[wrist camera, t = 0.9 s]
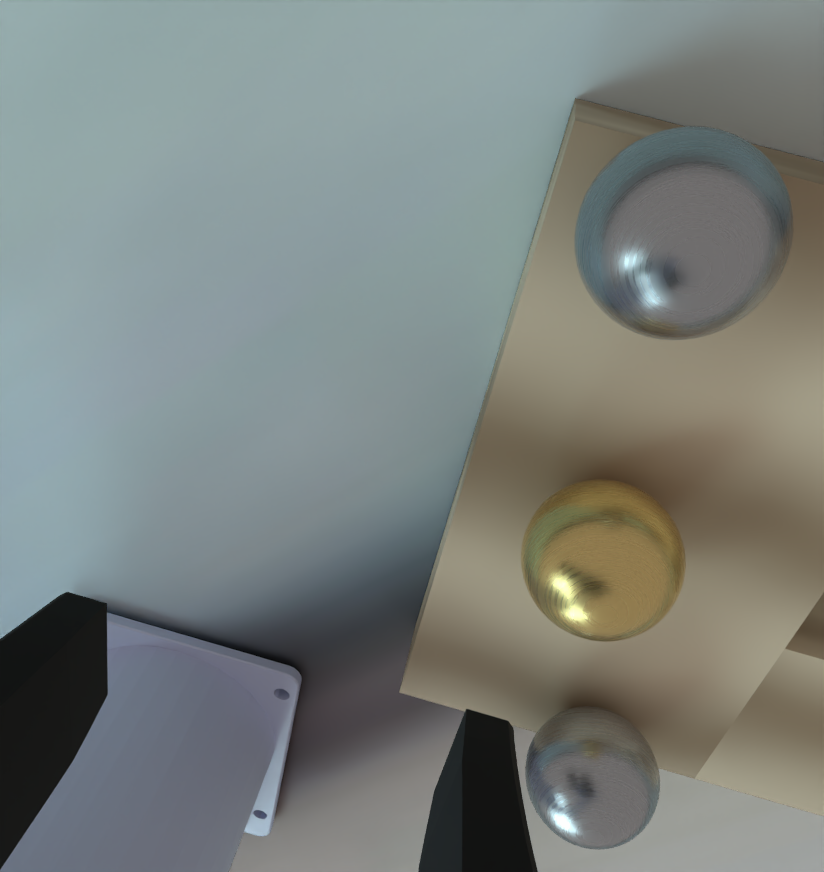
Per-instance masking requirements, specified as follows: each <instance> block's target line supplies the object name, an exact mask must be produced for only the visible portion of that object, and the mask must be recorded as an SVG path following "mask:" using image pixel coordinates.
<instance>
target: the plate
mask: <svg viewBox="0 0 824 872" xmlns="http://www.w3.org/2000/svg"><path fill="white" fill-rule="evenodd" d="M678 127H685V126H681V125H677V124H673V123H669V122H666V121H662V120H658V119H654V118H650V117H646V116H642V115H638V114H635V113H631V112H627V111H623V110H619V109H615V108H611V107H607V106H604V105H600V104H596V103H592V102H588V101H584V100H580V99H576V98H575V100H574V104H573V107H572V110H571V114H570V117H569V120H568V124H567V127H566V130H565V133H564V137H563V140H562V143H561V147H560V150H559V153H558V157H557V160H556V163H555V167H554V170H553V173H552V176H551V180H550V183H549V186H548V190H547V193H546V196H545V200H544V203H543V206H542V209H541V213H540V216H539V219H538V223H537V226H536V229H535V233H534V236H533V239H532V242H531V246H530V249H529V252H528V256H527V259H526V262H525V266H524V269H523V272H522V275H521V279H520V282H519V285H518V289H517V292H516V295H515V299H514V302H513V305H512V309H511V312H510V315H509V318H508V322H507V325H506V328H505V332H504V335H503V338H502V342H501V345H500V348H499V351H498V355H497V358H496V361H495V365H494V368H493V371H492V375H491V378H490V381H489V384H488V388H487V391H486V394H485V398H484V401H483V404H482V408H481V411H480V414H479V417H478V421H477V424H476V427H475V431H474V434H473V437H472V441H471V444H470V447H469V451H468V454H467V457H466V460H465V464H464V467H463V470H462V474H461V477H460V480H459V484H458V487H457V490H456V493H455V497H454V500H453V503H452V507H451V510H450V513H449V517H448V520H447V523H446V526H445V530H444V533H443V536H442V540H441V543H440V546H439V550H438V553H437V556H436V559H435V563H434V566H433V569H432V573H431V576H430V579H429V583H428V586H427V589H426V593H425V596H424V599H423V602H422V606H421V609H420V612H419V616H418V619H417V622H416V626H415V629H414V634H413V638H412V642H411V646H410V650H409V654H408V658H407V663H406V667H405V671H404V675H403V679H402V683H401V687H400V693H403V694H406V695H410V696H413V697H417V698H420V699H424V700H427V701H430V702H434V703H437V704H441V705H444V706H448V707H451V708H454V709H458V710H461V711H466V709H470V710H473V711H477V712H480V713H483V714H487V715H490V716H494V717H497V718H501V719H504V720H507V721H509V723H510V724H511V725H513V726H516V727H519V728H523V729H526V730H530V731H533V732H538V730H539V729H540V728H541V727H542V726H543V724H544V723H546V722H547V721H548V720H549V719H550V718H551V717H553V716H554V715H556V714H558V713H560V712H562V711H564V710H567V709H570V708H574V707H582V706H591V707H599V708H603V709H607V710H610V711H612V712H614V713H617V714H618V715H620V716H622V717H623V718H625V719H626V720H628V721H629V722H630V723H632V724H633V725H634V726H635V727H636V728H637V729H638V730H639V731H640V732H641V734H642V735H643V736H644V738H645V739H646V740H647V742H648V744H649V745H650V747H651V749H652V751H653V753H654V756H655V759H656V762H657V765H658V768H660V769H663V770H667V771H670V772H674V773H677V774H680V775H684V776H687V777H691V778H694V779H698V780H701V781H704V782H708V783H711V784H715V785H718V786H721V787H725V788H728V789H732V790H735V791H739V792H742V793H745V794H749V795H752V796H756V797H759V798H763V799H766V800H769V801H773V802H776V803H780V804H783V805H787V806H790V807H793V808H797V809H800V810H804V811H807V812H811V813H814V814H817V815H821V816H824V594H823V593H824V162H821V161H817V160H813V159H809V158H805V157H801V156H797V155H793V154H790V153H786V152H782V151H778V150H774V149H770V148H766V147H762V146H759V145H755V144H752V145H753V146H755V147H756V148H757V149H759V150H760V151H761V152H762V153H763V154H764V155H765V156H766V157H767V158H768V159H769V160H770V161H771V162H772V164H773V165H774V166H775V168H776V169H777V170H778V172H779V174H780V175H781V177H782V179H783V181H784V183H785V185H786V187H787V190H788V193H789V196H790V199H791V205H792V211H793V239H792V246H791V250H790V253H789V257H788V260H787V262H786V265H785V267H784V269H783V272H782V274H781V276H780V278H779V279H778V281H777V283H776V285H775V286H774V288H773V289H772V290H771V292H770V293H769V294H768V296H767V297H766V298H765V299H764V300H763V301H762V302H761V303H760V304H759V306H758V307H757V308H755V309H754V310H753V311H752V312H751V313H749V314H748V315H747V316H746V317H744V318H743V319H741V320H740V321H738V322H737V323H735V324H733V325H731V326H729V327H728V328H726V329H724V330H721V331H719V332H716V333H713V334H711V335H707V336H703V337H700V338H695V339H688V340H661V339H655V338H650V337H646V336H643V335H640V334H637V333H635V332H633V331H631V330H629V329H627V328H625V327H623V326H621V325H619V324H618V323H616V322H615V321H613V320H612V319H611V318H610V317H608V316H607V315H606V314H605V313H604V312H603V311H602V310H601V309H600V308H599V307H598V306H597V304H596V303H595V302H594V301H593V299H592V298H591V296H590V295H589V293H588V292H587V290H586V288H585V286H584V284H583V282H582V279H581V277H580V274H579V270H578V267H577V263H576V256H575V248H574V236H575V228H576V221H577V218H578V214H579V210H580V206H581V204H582V201H583V199H584V196H585V194H586V192H587V191H588V189H589V187H590V185H591V183H592V182H593V180H594V179H595V178H596V176H597V175H598V174H599V172H600V171H601V170H602V169H603V168H604V167H605V165H606V164H607V163H608V162H609V161H610V160H611V159H612V158H614V157H615V156H616V155H617V154H618V153H620V152H621V151H622V150H623V149H625V148H627V147H628V146H630V145H631V144H633V143H634V142H636V141H638V140H640V139H642V138H644V137H646V136H648V135H651V134H654V133H657V132H660V131H663V130H668V129H672V128H678ZM750 144H751V143H750ZM596 479H605V480H614V481H619V482H623V483H626V484H629V485H632V486H634V487H636V488H639V489H641V490H642V491H644V492H645V493H647V494H649V495H650V496H652V497H653V498H654V499H655V500H656V501H658V502H659V503H660V504H661V505H662V507H663V508H664V509H665V510H666V511H667V512H668V513H669V515H670V516H671V518H672V519H673V521H674V522H675V524H676V526H677V528H678V530H679V532H680V535H681V538H682V542H683V545H684V549H685V559H686V569H685V577H684V582H683V586H682V589H681V592H680V594H679V596H678V599H677V601H676V602H675V604H674V605H673V607H672V608H671V610H670V611H669V613H668V614H667V615H666V616H665V617H664V618H663V619H662V620H661V621H660V622H659V623H657V624H656V625H655V626H654V627H652V628H651V629H649V630H648V631H646V632H644V633H642V634H640V635H637V636H635V637H632V638H629V639H625V640H620V641H612V642H601V641H592V640H587V639H583V638H580V637H577V636H575V635H573V634H570V633H568V632H566V631H564V630H563V629H561V628H559V627H558V626H556V625H555V624H554V623H552V622H551V621H550V620H549V619H548V618H547V617H546V616H545V615H544V614H543V613H542V612H541V611H540V610H539V608H538V607H537V606H536V604H535V603H534V601H533V600H532V598H531V596H530V594H529V592H528V590H527V587H526V585H525V582H524V578H523V573H522V569H521V547H522V541H523V537H524V533H525V530H526V528H527V526H528V524H529V522H530V520H531V518H532V516H533V515H534V513H535V512H536V510H537V509H538V508H539V507H540V506H541V505H542V503H543V502H544V501H545V500H547V499H548V498H549V497H550V496H551V495H553V494H554V493H556V492H557V491H559V490H561V489H562V488H564V487H567V486H569V485H571V484H574V483H577V482H582V481H587V480H596Z"/></svg>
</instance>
